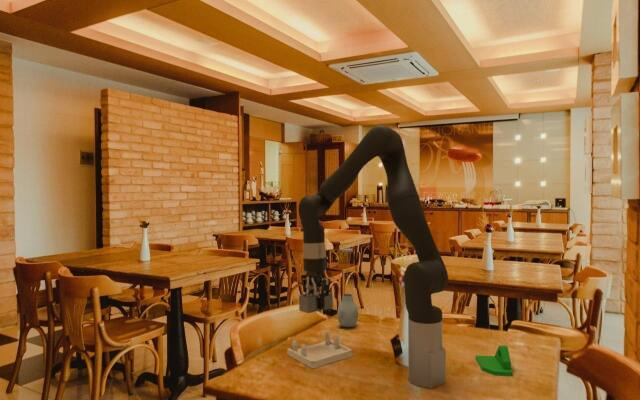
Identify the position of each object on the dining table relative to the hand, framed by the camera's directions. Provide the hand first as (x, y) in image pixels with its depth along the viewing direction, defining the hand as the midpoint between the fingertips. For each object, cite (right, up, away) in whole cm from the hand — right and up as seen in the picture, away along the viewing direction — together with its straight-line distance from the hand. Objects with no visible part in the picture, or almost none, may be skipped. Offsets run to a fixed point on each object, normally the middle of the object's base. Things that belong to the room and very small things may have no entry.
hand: (316, 307), depth 148 cm
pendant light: (+12, -14, +25) cm, 31 cm away
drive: (0, -1, 0) cm, 1 cm away
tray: (+1, -14, -4) cm, 15 cm away
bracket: (+53, -15, -15) cm, 57 cm away
